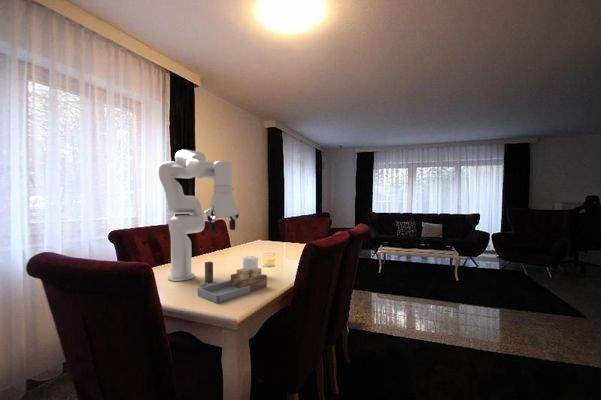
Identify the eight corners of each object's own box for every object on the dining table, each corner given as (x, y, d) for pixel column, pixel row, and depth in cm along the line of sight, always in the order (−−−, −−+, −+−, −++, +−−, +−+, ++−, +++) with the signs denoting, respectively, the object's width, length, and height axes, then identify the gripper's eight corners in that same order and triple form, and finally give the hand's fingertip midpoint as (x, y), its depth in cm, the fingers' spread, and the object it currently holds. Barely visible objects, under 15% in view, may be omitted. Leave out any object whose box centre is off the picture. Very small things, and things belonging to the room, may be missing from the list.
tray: (197, 295, 117) (197, 288, 117) (230, 286, 130) (230, 280, 130) (217, 303, 108) (217, 296, 108) (250, 293, 121) (250, 286, 121)
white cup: (240, 276, 147) (240, 257, 147) (255, 274, 150) (255, 255, 150) (245, 280, 140) (244, 259, 140) (260, 278, 143) (260, 258, 143)
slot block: (230, 286, 129) (230, 274, 129) (248, 281, 137) (248, 270, 137) (249, 292, 121) (249, 279, 121) (266, 287, 129) (266, 275, 129)
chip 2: (248, 277, 130) (248, 268, 130) (255, 275, 133) (255, 267, 133) (254, 279, 127) (254, 270, 127) (261, 277, 130) (261, 268, 130)
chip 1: (236, 278, 128) (236, 269, 128) (243, 276, 131) (243, 268, 131) (242, 280, 126) (242, 271, 126) (249, 278, 129) (249, 269, 129)
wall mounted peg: (200, 287, 129) (200, 261, 129) (208, 285, 132) (208, 260, 132) (209, 290, 124) (209, 264, 124) (217, 288, 127) (217, 262, 127)
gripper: (234, 190, 130) (234, 228, 130) (199, 190, 117) (199, 231, 117) (244, 190, 125) (244, 229, 125) (209, 189, 112) (209, 233, 112)
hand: (222, 230), depth 121 cm, fingers open, 9 cm apart
